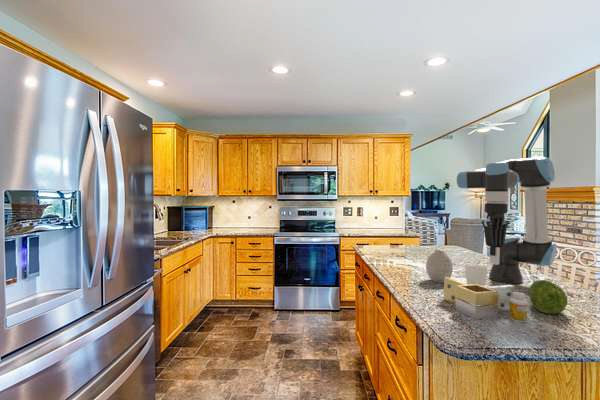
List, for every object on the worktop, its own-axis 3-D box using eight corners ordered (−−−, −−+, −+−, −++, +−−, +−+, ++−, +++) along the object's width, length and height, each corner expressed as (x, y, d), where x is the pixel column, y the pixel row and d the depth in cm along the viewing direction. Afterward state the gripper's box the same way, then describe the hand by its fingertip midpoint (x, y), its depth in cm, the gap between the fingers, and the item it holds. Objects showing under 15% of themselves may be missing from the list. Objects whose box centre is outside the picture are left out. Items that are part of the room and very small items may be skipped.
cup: (489, 294, 143) (490, 268, 143) (468, 293, 145) (468, 267, 144) (482, 288, 152) (483, 264, 151) (462, 287, 153) (462, 263, 153)
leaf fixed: (501, 304, 130) (501, 282, 129) (523, 313, 120) (524, 289, 120) (455, 309, 124) (455, 285, 124) (475, 319, 114) (475, 293, 114)
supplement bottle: (507, 316, 118) (507, 290, 117) (523, 317, 116) (524, 291, 116) (512, 321, 112) (512, 294, 112) (529, 323, 111) (530, 296, 111)
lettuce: (557, 303, 133) (558, 276, 132) (570, 319, 115) (571, 289, 114) (524, 298, 138) (524, 273, 138) (531, 313, 120) (532, 284, 120)
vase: (439, 277, 172) (440, 247, 172) (458, 283, 160) (458, 251, 160) (420, 279, 168) (421, 248, 168) (438, 285, 156) (438, 252, 156)
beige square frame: (455, 298, 138) (455, 276, 137) (497, 316, 117) (498, 291, 117) (435, 299, 135) (436, 277, 135) (475, 319, 114) (476, 293, 114)
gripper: (497, 202, 127) (495, 260, 127) (475, 202, 121) (474, 263, 121) (516, 203, 120) (514, 264, 120) (494, 203, 114) (493, 267, 115)
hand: (494, 263), depth 121 cm, fingers closed
